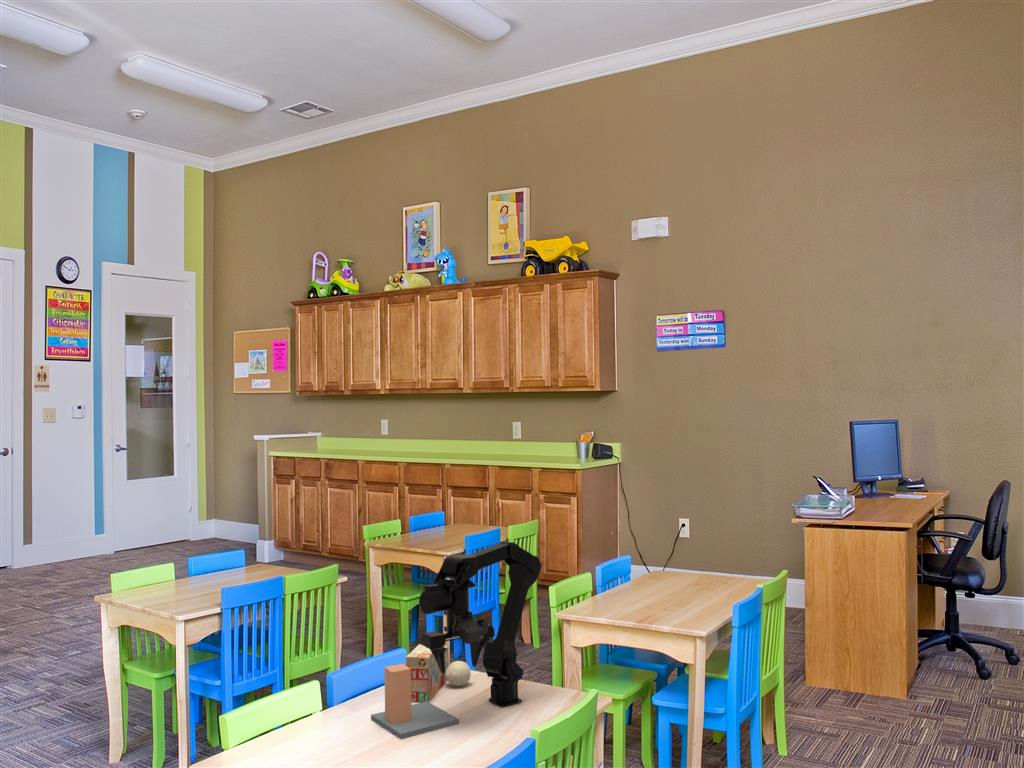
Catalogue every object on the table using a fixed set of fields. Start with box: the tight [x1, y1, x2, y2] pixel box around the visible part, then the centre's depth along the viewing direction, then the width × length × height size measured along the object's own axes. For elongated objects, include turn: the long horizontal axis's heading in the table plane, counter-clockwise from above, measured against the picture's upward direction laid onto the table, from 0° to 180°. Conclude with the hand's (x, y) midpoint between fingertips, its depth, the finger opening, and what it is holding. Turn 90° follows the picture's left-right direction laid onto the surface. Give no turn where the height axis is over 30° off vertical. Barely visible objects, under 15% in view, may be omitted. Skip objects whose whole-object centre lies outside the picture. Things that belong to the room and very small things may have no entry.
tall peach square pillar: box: [383, 663, 412, 724], centre depth 205 cm, size 5×5×12 cm
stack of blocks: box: [405, 643, 450, 704], centre depth 231 cm, size 21×6×12 cm, turn 170°
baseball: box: [445, 660, 472, 687], centre depth 234 cm, size 7×7×7 cm
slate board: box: [370, 701, 460, 740], centre depth 206 cm, size 16×16×1 cm
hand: (458, 669), depth 208 cm, fingers open, 9 cm apart
